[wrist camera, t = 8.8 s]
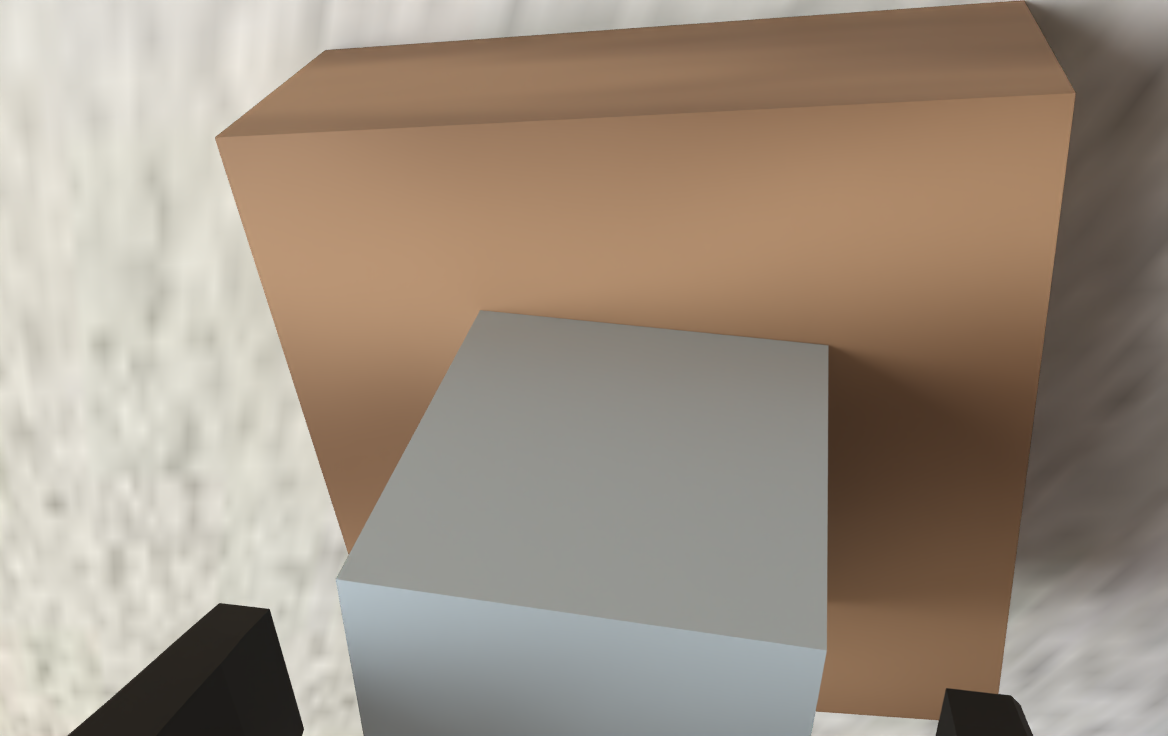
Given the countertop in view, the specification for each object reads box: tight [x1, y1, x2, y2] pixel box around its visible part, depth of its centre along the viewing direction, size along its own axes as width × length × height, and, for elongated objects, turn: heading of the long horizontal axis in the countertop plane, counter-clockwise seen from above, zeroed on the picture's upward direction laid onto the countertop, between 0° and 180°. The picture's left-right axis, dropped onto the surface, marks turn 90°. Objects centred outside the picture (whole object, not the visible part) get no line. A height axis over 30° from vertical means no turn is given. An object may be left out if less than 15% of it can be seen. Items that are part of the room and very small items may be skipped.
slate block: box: [336, 310, 828, 736], centre depth 13 cm, size 4×4×5 cm
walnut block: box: [215, 0, 1076, 720], centre depth 17 cm, size 10×10×4 cm
